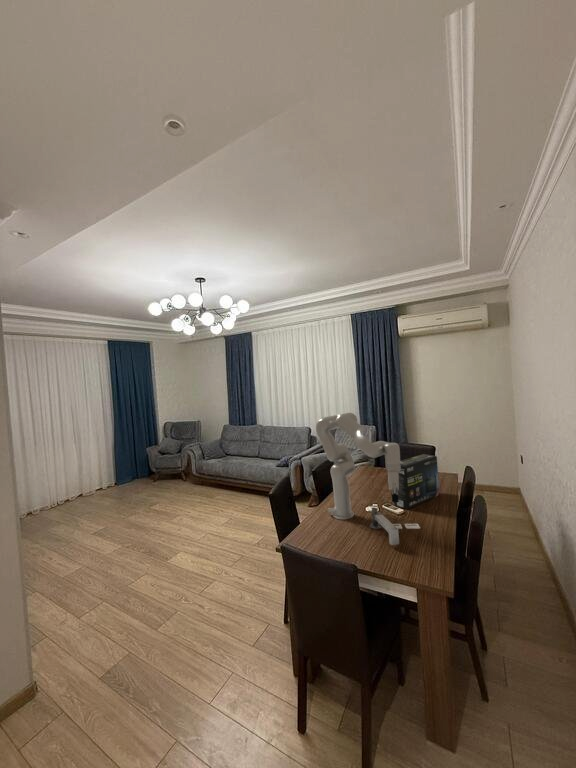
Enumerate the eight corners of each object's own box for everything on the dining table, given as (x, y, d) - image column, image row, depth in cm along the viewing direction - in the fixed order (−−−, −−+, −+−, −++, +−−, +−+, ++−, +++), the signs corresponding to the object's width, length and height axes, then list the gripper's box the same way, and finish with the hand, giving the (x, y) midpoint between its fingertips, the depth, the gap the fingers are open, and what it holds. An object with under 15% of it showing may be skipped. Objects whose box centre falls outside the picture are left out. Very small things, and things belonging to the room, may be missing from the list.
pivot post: (370, 529, 163) (369, 510, 163) (369, 524, 169) (368, 506, 169) (382, 529, 162) (380, 510, 162) (380, 524, 168) (379, 506, 168)
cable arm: (373, 526, 163) (372, 512, 163) (381, 525, 164) (379, 511, 164) (390, 545, 143) (389, 530, 143) (399, 544, 144) (398, 528, 144)
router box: (408, 510, 183) (404, 466, 183) (392, 505, 192) (389, 463, 193) (441, 495, 203) (437, 455, 203) (425, 491, 212) (422, 453, 212)
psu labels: (388, 528, 162) (388, 527, 162) (387, 524, 167) (387, 523, 167) (420, 528, 160) (420, 527, 160) (417, 524, 165) (417, 523, 165)
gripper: (385, 462, 168) (387, 496, 168) (385, 470, 154) (387, 506, 154) (400, 463, 166) (402, 496, 166) (401, 471, 152) (403, 507, 151)
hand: (395, 501), depth 160 cm, fingers closed
